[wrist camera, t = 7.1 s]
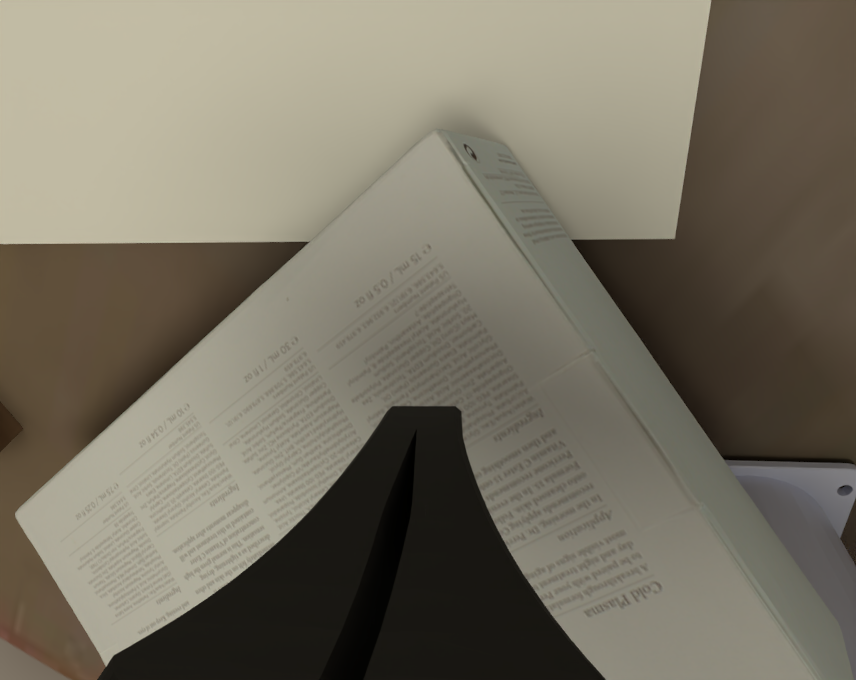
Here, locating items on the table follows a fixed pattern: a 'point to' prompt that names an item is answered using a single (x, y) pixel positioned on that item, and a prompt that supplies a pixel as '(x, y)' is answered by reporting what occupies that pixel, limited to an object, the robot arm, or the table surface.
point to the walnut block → (7, 427)
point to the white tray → (333, 110)
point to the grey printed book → (482, 432)
